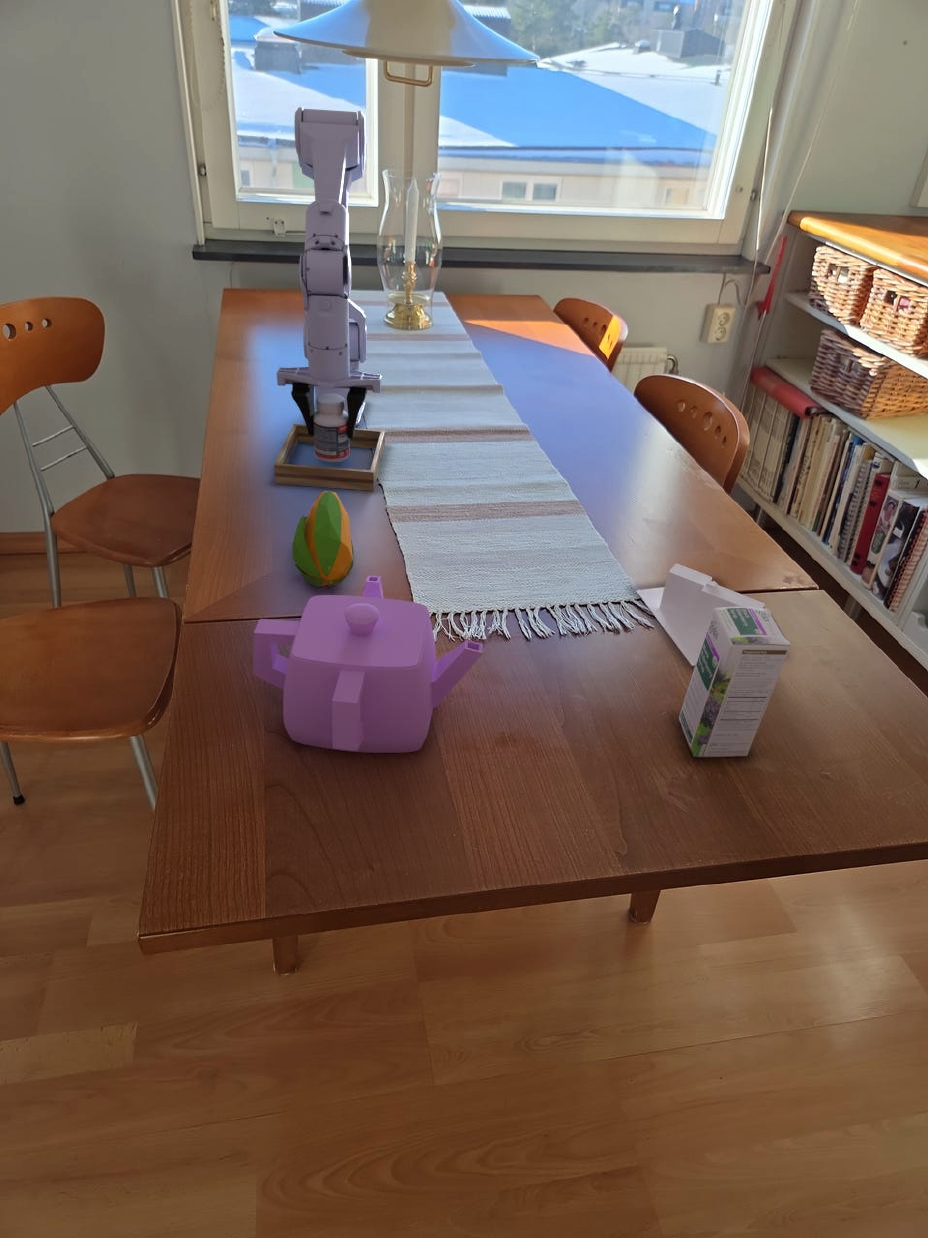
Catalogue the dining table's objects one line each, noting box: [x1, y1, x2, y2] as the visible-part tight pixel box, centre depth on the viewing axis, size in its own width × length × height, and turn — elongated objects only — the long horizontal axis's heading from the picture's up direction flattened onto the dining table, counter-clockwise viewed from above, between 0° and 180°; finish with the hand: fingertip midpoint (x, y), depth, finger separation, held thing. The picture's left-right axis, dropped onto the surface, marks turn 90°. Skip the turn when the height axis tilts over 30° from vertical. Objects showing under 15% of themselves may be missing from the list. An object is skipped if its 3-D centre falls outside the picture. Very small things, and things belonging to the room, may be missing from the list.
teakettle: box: [252, 574, 484, 754], centre depth 82 cm, size 17×17×12 cm
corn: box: [292, 490, 354, 588], centre depth 105 cm, size 7×8×20 cm
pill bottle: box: [313, 394, 351, 463], centre depth 124 cm, size 5×5×9 cm
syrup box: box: [678, 607, 792, 758], centre depth 81 cm, size 6×6×14 cm
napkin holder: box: [635, 562, 767, 667], centre depth 99 cm, size 15×11×6 cm
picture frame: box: [273, 423, 386, 492], centre depth 126 cm, size 14×14×3 cm
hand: (331, 434), depth 124 cm, fingers closed on pill bottle, 5 cm apart
